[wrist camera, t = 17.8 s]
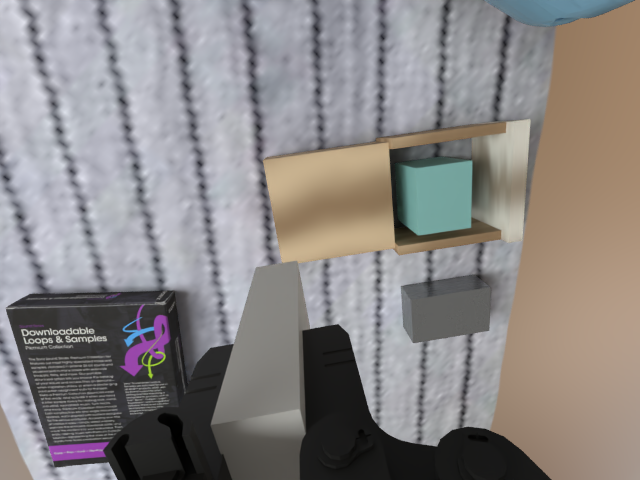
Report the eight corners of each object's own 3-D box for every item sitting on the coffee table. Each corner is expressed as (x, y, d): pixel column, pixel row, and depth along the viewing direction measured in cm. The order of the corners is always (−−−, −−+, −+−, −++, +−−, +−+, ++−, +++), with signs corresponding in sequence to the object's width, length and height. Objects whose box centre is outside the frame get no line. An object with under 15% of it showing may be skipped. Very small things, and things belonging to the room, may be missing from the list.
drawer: (266, 153, 29) (259, 157, 23) (484, 122, 29) (530, 119, 24) (284, 252, 32) (282, 278, 26) (482, 222, 32) (522, 240, 27)
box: (197, 430, 39) (178, 286, 33) (188, 459, 36) (166, 304, 29) (74, 438, 38) (29, 289, 31) (53, 468, 34) (-2, 308, 28)
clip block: (416, 168, 25) (472, 160, 25) (394, 163, 30) (441, 156, 30) (418, 235, 27) (471, 227, 27) (397, 219, 32) (441, 212, 32)
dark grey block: (401, 286, 34) (410, 299, 31) (474, 274, 34) (490, 287, 31) (403, 326, 36) (413, 343, 33) (473, 315, 36) (489, 330, 33)
